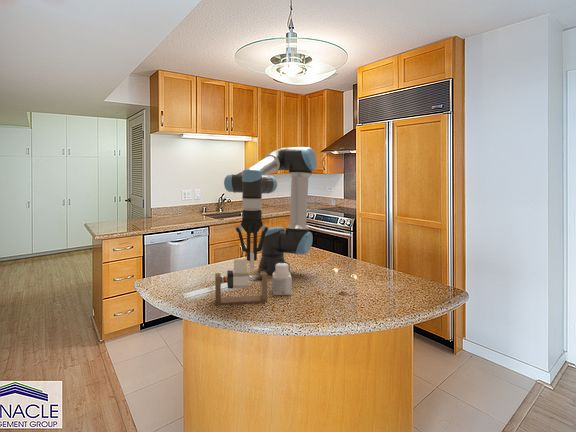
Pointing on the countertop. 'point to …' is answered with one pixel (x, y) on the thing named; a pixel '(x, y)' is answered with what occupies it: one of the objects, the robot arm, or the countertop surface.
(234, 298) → the rod stand
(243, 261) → the stepped block with cap
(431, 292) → the countertop surface
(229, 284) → the dark grey block
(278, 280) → the container
